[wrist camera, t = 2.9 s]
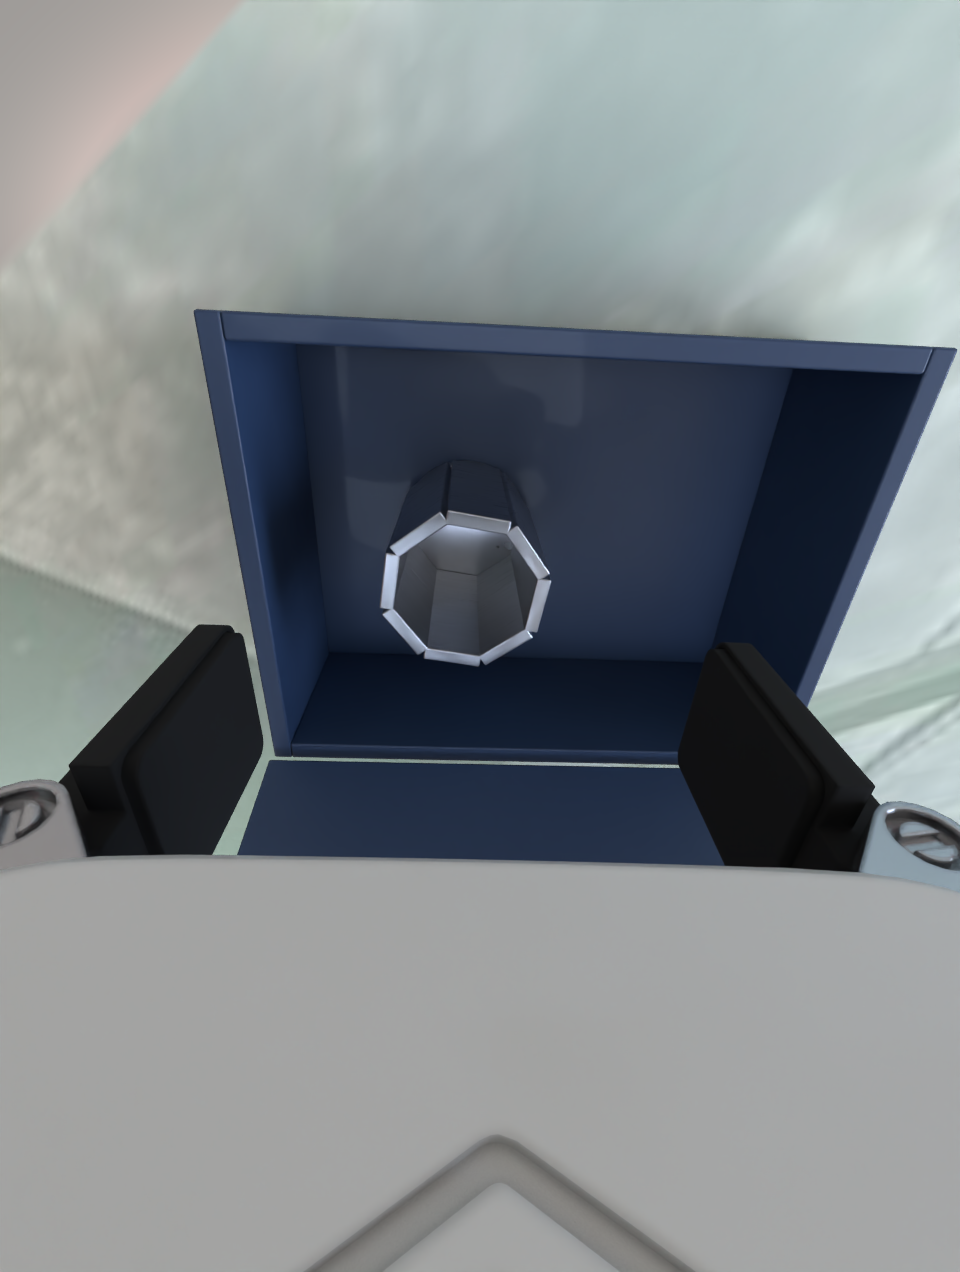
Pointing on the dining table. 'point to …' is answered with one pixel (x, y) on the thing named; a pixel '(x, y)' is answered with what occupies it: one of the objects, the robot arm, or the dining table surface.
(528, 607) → the tumbler
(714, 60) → the dining table surface
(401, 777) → the lid
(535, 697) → the chest
